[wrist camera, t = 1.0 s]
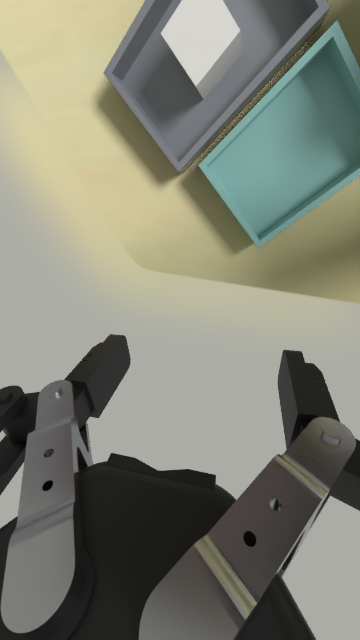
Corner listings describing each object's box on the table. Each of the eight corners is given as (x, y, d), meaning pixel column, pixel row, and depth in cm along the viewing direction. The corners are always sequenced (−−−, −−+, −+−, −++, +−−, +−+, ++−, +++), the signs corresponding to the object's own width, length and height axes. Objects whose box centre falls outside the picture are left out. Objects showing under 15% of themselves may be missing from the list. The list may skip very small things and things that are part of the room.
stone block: (211, 2, 21) (203, -34, 17) (241, 54, 22) (240, 30, 19) (174, 55, 23) (160, 33, 20) (203, 99, 25) (195, 86, 21)
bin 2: (326, 37, 21) (337, 19, 19) (382, 150, 24) (397, 148, 21) (202, 166, 28) (198, 165, 26) (257, 242, 31) (257, 248, 28)
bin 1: (245, -126, 18) (245, -174, 16) (320, 26, 21) (330, 6, 18) (117, 82, 26) (103, 72, 23) (184, 172, 29) (178, 172, 26)
